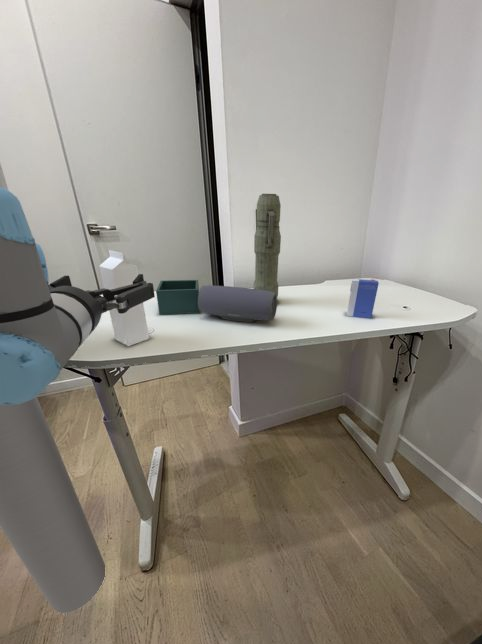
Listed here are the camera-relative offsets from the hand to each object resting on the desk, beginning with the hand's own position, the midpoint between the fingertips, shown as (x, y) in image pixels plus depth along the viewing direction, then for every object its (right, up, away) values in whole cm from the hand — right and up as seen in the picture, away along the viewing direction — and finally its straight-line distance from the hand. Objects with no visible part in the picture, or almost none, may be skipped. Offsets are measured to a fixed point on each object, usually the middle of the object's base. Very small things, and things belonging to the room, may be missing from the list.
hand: (106, 281), depth 58 cm
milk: (-3, -11, +18) cm, 21 cm away
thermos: (+32, +4, +49) cm, 59 cm away
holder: (+4, +1, +40) cm, 41 cm away
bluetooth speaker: (+24, -4, +33) cm, 40 cm away
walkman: (+63, -3, +38) cm, 74 cm away
